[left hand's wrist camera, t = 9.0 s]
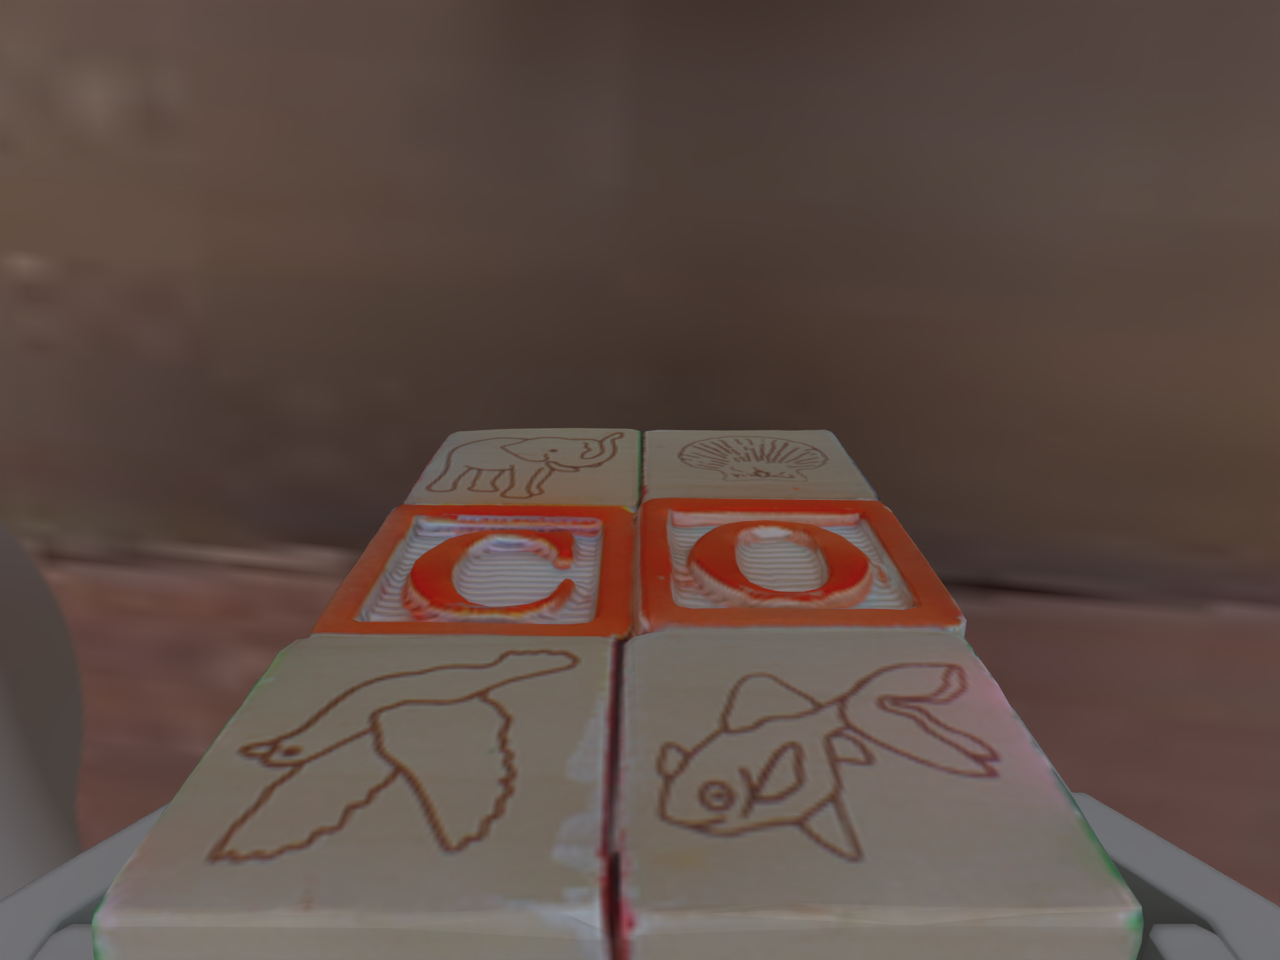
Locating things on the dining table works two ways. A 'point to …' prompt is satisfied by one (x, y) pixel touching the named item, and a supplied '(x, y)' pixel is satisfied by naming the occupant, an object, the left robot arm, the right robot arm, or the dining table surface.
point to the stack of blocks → (627, 737)
